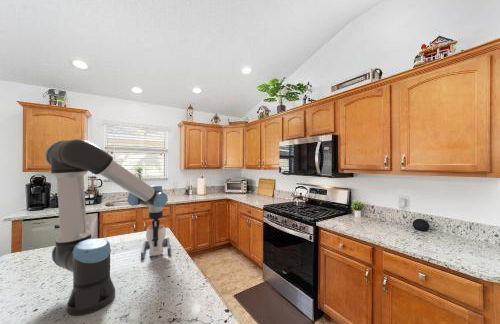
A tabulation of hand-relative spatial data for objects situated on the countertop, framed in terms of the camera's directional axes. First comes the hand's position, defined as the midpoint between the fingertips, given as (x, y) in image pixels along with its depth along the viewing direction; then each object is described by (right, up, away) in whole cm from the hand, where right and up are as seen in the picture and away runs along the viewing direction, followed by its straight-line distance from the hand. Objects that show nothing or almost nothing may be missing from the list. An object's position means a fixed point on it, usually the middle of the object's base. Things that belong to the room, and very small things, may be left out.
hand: (156, 247), depth 123 cm
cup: (0, -3, 0) cm, 3 cm away
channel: (-2, -4, +5) cm, 7 cm away
